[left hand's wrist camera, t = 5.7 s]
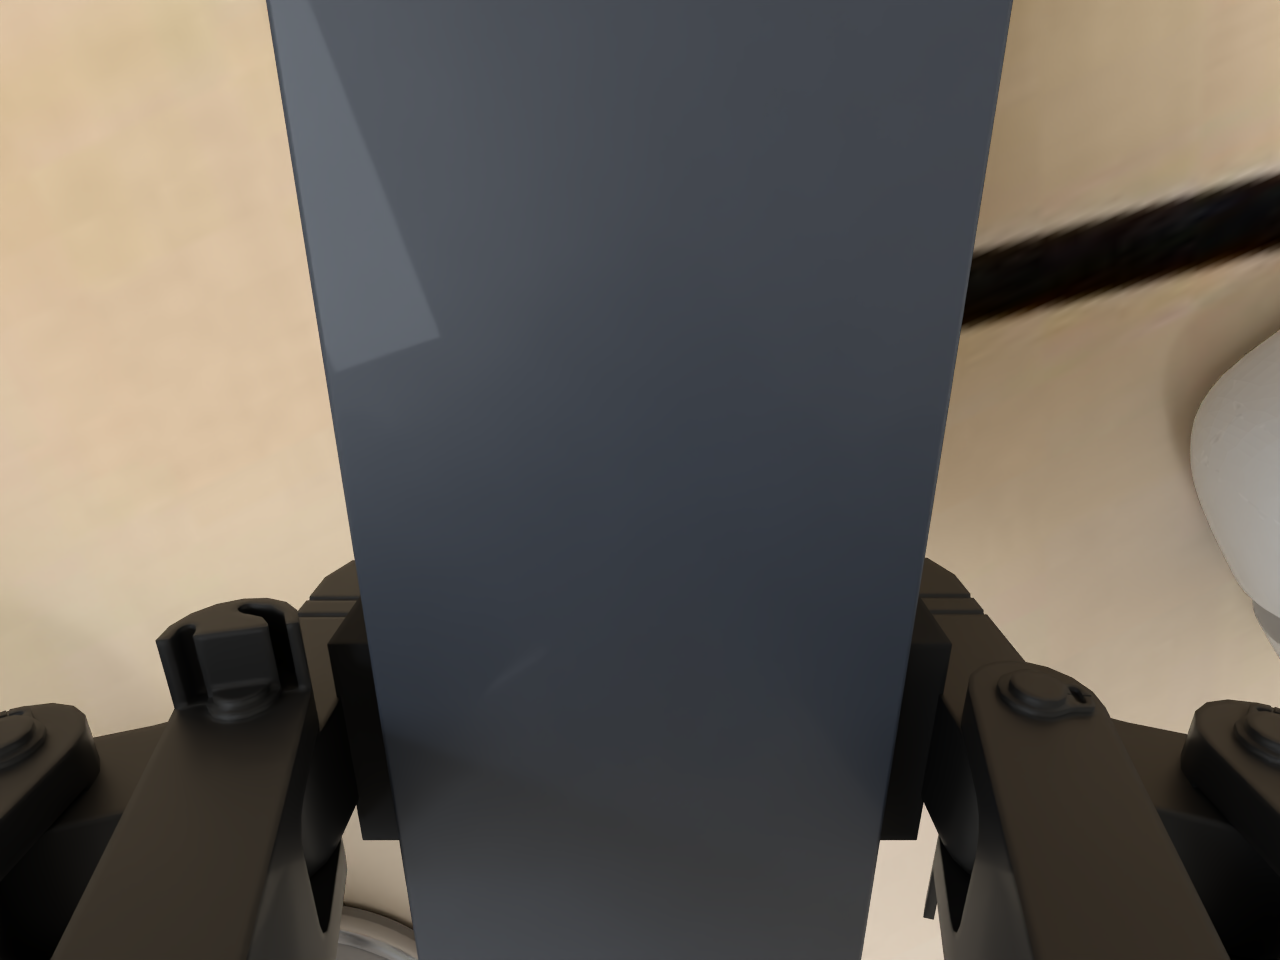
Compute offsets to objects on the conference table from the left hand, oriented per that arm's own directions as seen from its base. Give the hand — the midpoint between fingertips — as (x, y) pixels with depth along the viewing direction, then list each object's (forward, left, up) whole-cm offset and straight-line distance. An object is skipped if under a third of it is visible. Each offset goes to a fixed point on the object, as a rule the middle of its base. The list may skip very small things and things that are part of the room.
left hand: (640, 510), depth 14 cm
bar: (+11, +4, -1) cm, 12 cm away
